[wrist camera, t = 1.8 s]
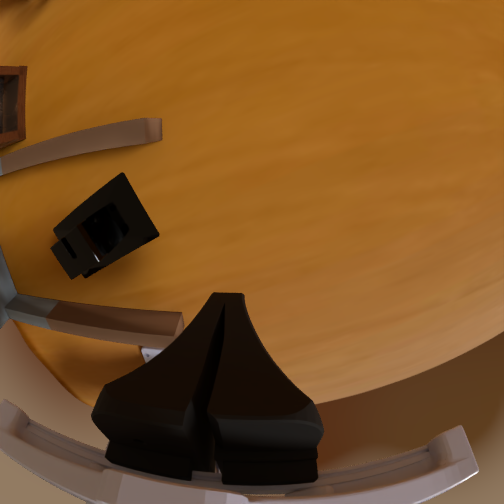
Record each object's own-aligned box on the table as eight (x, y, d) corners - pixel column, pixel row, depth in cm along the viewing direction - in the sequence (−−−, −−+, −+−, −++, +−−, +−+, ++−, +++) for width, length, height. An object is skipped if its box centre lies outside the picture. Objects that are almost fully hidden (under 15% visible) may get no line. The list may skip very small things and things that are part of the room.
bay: (184, 325, 23) (171, 367, 18) (17, 302, 23) (-4, 326, 19) (161, 118, 15) (129, 117, 11) (-20, 168, 16) (-52, 181, 11)
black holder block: (137, 151, 17) (105, 160, 13) (185, 234, 20) (169, 265, 16) (44, 228, 19) (14, 249, 15) (85, 289, 22) (62, 319, 18)
